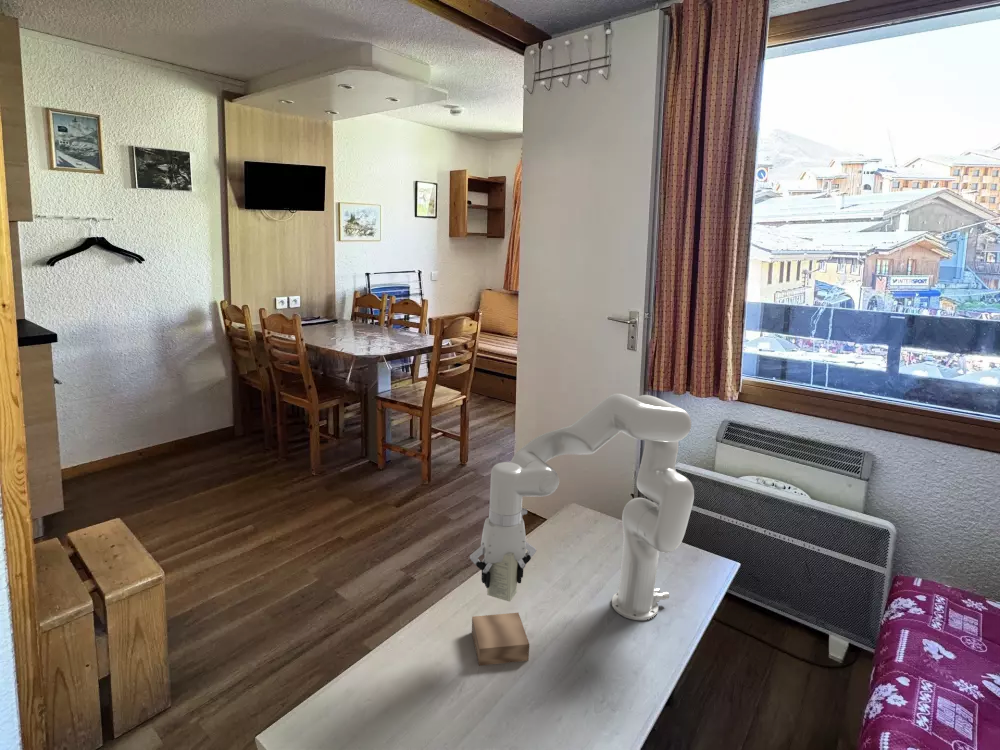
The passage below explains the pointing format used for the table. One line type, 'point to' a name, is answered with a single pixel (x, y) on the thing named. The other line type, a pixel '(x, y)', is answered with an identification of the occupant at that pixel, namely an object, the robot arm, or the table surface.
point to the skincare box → (503, 578)
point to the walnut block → (499, 639)
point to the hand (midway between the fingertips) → (502, 581)
